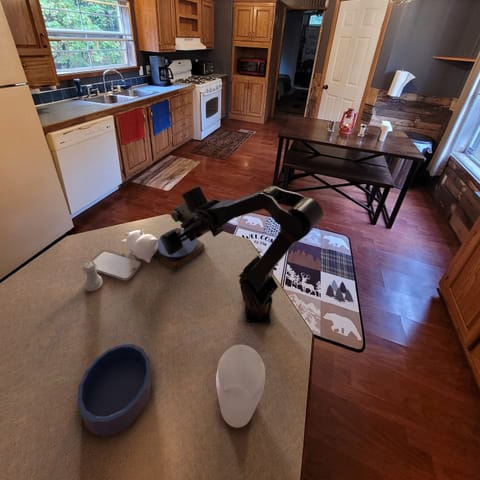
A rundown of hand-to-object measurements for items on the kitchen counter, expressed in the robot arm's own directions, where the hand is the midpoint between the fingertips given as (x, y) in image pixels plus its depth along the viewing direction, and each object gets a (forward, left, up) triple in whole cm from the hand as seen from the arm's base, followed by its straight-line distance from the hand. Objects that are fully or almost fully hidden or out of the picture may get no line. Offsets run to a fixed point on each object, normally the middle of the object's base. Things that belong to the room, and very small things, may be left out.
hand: (178, 236), depth 85 cm
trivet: (+1, 0, -6) cm, 6 cm away
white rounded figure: (+17, -2, -2) cm, 17 cm away
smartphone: (+19, +8, -7) cm, 21 cm away
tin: (+5, +40, -6) cm, 40 cm away
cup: (-19, +42, -7) cm, 46 cm away
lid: (+1, -1, -3) cm, 3 cm away
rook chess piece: (+22, +15, -7) cm, 27 cm away
